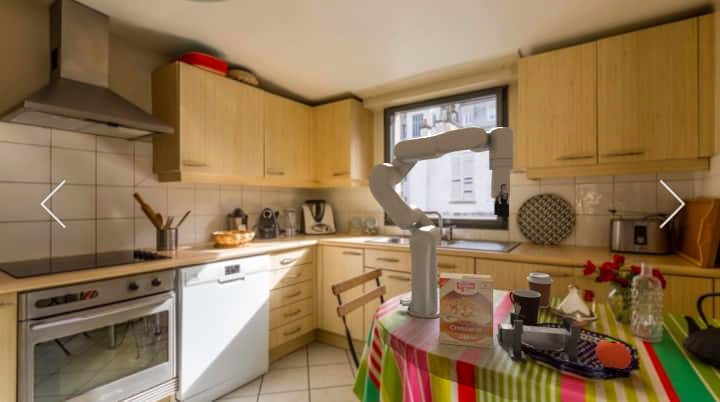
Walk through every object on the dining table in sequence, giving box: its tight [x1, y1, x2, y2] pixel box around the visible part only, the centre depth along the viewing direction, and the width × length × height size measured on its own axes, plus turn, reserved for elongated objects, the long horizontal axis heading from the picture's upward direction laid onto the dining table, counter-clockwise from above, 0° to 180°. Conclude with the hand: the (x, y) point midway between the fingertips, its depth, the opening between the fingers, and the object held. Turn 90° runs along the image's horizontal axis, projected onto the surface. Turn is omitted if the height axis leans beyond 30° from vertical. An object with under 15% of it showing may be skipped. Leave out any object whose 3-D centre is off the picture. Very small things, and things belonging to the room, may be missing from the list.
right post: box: [559, 315, 584, 365], centre depth 85 cm, size 4×7×10 cm, turn 164°
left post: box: [506, 312, 527, 362], centre depth 88 cm, size 4×7×10 cm, turn 164°
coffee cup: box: [526, 272, 554, 309], centre depth 128 cm, size 9×9×12 cm
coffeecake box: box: [438, 272, 494, 349], centre depth 97 cm, size 15×7×20 cm, turn 75°
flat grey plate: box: [496, 333, 580, 354], centre depth 95 cm, size 20×7×1 cm, turn 74°
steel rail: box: [497, 322, 565, 349], centre depth 95 cm, size 19×4×4 cm, turn 74°
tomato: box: [595, 337, 632, 370], centre depth 82 cm, size 8×7×7 cm
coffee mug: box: [509, 289, 541, 326], centre depth 112 cm, size 12×9×10 cm
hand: (501, 215), depth 110 cm, fingers open, 9 cm apart
